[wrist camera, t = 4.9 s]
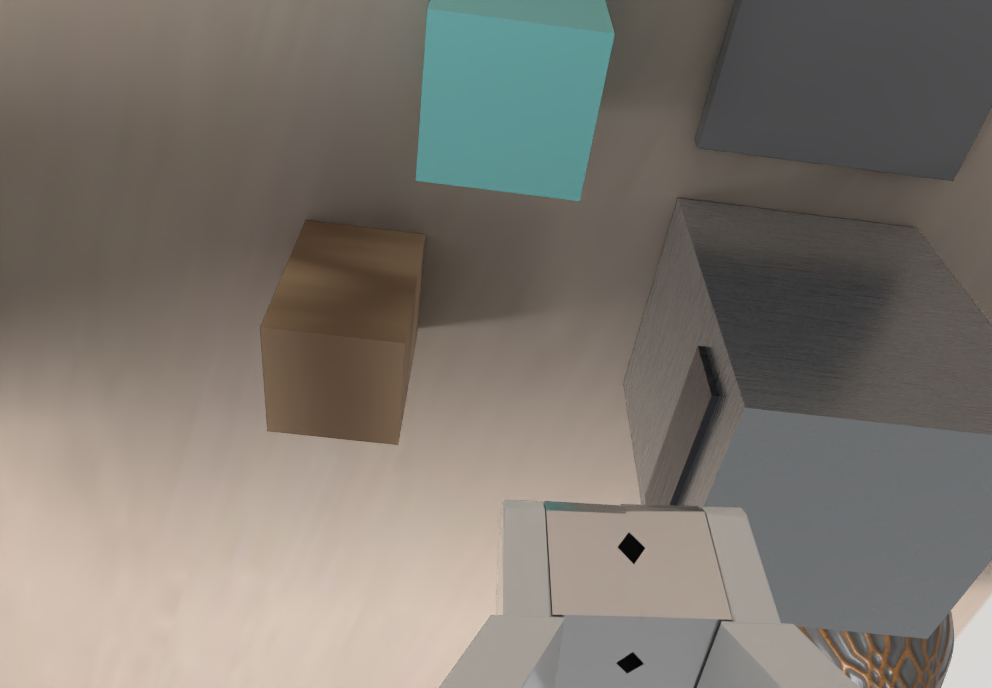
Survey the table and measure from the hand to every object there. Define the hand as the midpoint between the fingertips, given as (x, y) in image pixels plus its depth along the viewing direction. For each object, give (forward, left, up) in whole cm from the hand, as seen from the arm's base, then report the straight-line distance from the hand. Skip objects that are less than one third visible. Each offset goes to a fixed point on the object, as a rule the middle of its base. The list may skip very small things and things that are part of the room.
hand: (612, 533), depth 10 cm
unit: (+8, -8, -17) cm, 20 cm away
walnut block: (-6, -8, -17) cm, 20 cm away
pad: (+8, +2, -17) cm, 19 cm away
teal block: (-2, +1, -17) cm, 17 cm away
